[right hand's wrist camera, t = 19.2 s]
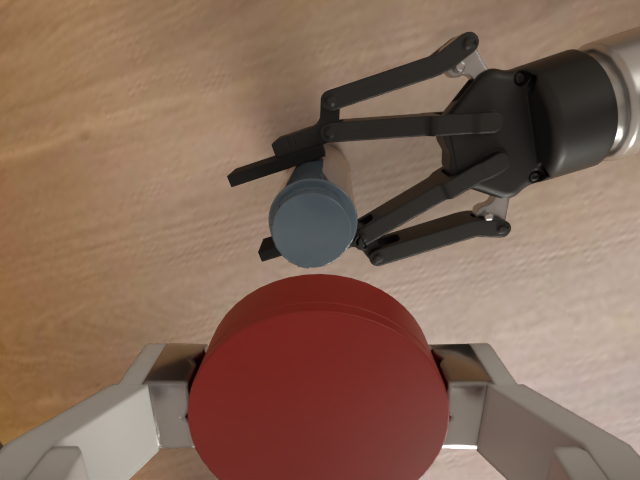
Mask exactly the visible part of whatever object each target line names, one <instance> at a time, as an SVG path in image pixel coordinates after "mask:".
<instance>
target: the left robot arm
mask: <svg viewBox="0 0 640 480" xmlns="http://www.w3.org/2000/svg"><path fill="white" fill-rule="evenodd" d="M478 44H479V39H478V36H477V35H476V34H475V33H473V32H466V33H464V34H461V35H458V36H456V37H454V38H452V39H450V40H449V41H448V42H446V43H445V44H444V45H443V46H441V47H440V48H439V49H438V50H436V51H435V52H434V53H433V54H431V55H430V56H429V57H426V58H423V59H420V60H417V61H414V62H411V63H408V64H405V65H402V66H399V67H396V68H393V69H390V70H387V71H384V72H381V73H378V74H375V75H373V76H370V77H367V78H364V79H361V80H358V81H355V82H352V83H349V84H346V85H343V86H340V87H337V88H334V89H331V90H328V91H326V92H324V94H323V95H322V97H321V111H320V119H319V121H318V122H317V123H316V124H315V125H313V126H310V127H307V128H304V129H302V130H299V131H296V132H293V133H290V134H287V135H284V136H281V137H279V138H278V139H277V140H276V141H275V142H274V143H273V144H272V147H273V150H274V153H275V156H273V157H270V158H267V159H264V160H261V161H258V162H255V163H252V164H249V165H246V166H243V167H240V168H237V169H235V170H234V171H233V172H231V173H230V174H229V175H228V176H227V177H228V180H229V182H230V185H231V187H234V186H237V185H240V184H243V183H246V182H249V181H252V180H255V179H258V178H261V177H264V176H267V175H270V174H273V173H276V172H279V171H282V170H285V169H288V168H291V167H294V166H298V165H301V164H304V163H307V162H310V161H313V160H316V159H319V158H322V157H325V148H324V145H323V144H325V143H328V142H344V141H359V140H373V139H388V138H402V137H417V136H436V138H437V141H438V143H439V145H440V146H441V148H442V165H443V167H441V168H439V169H438V170H436V171H434V172H433V173H432V174H431V175H430V176H429V177H428V178H427V179H425V180H423V181H422V182H420V183H418V184H417V185H415V186H413V187H411V188H410V189H408V190H406V191H405V192H403V193H401V194H400V195H398V196H396V197H395V198H393V199H391V200H389V201H388V202H386V203H384V204H383V205H381V206H379V207H378V208H376V209H374V210H373V211H371V212H369V213H367V214H366V215H364V216H362V217H361V218H359V219H357V220H358V223H357V230H356V234H355V237H354V239H353V241H352V243H351V244H350V246H349V247H348V248H350V247H356V248H357V249H359V250H362V251H363V252H364V253H365V254H366V256H367V257H368V258H369V260H370V262H371V263H372V264H373V265H375V266H381V265H384V264H388V263H391V262H394V261H398V260H401V259H404V258H408V257H411V256H414V255H418V254H421V253H424V252H428V251H431V250H434V249H438V248H441V247H444V246H448V245H451V244H454V243H458V242H461V241H464V240H468V239H471V238H474V237H505V236H507V235H508V234H509V233H510V230H511V226H510V224H509V223H508V222H507V221H505V218H506V213H507V208H508V203H509V198H511V197H513V196H515V195H517V194H518V193H519V192H520V191H521V190H522V189H524V188H525V187H526V186H528V185H530V184H533V183H537V182H541V181H545V180H549V179H552V178H555V177H559V176H562V175H565V174H569V173H572V172H575V171H579V170H582V169H585V168H588V167H592V166H595V165H597V164H599V163H600V162H602V161H613V160H616V159H619V158H622V157H626V156H629V155H632V154H635V153H638V152H640V26H639V27H636V28H633V29H630V30H627V31H624V32H621V33H618V34H615V35H612V36H609V37H606V38H603V39H600V40H597V41H594V42H591V43H588V44H585V45H583V46H581V47H580V48H579V49H578V50H575V49H572V50H567V51H563V52H560V53H558V54H555V55H552V56H549V57H546V58H543V59H540V60H537V61H534V62H531V63H528V64H525V65H522V66H519V67H516V68H513V69H510V70H499V69H488V68H487V67H486V65H485V63H484V61H483V60H482V58H481V56H480V54H479V53H478V51H477V47H478ZM443 73H444V74H445V75H446V76H447V77H449V78H455V77H460V76H462V75H464V76H466V77H467V78H468V79H469V80H468V81H467V83H466V84H465V85H464V86H463V88H462V89H461V90H460V92H459V93H458V94H457V95H456V97H455V98H454V99H453V100H452V102H451V103H450V104H449V105H448V107H447V108H446V109H445V110H444V112H430V113H420V114H409V115H395V116H381V117H367V118H353V119H339V112H340V108H343V107H346V106H349V105H352V104H355V103H358V102H361V101H364V100H367V99H370V98H373V97H376V96H379V95H382V94H385V93H388V92H391V91H394V90H397V89H400V88H403V87H406V86H409V85H412V84H415V83H418V82H421V81H424V80H427V79H430V78H433V77H436V76H438V75H441V74H443ZM469 189H473V190H476V191H479V192H482V193H485V194H488V195H490V196H489V198H488V199H487V200H486V201H485V202H482V203H478V204H476V205H475V206H474V207H473V210H472V211H462V212H458V213H454V214H451V215H448V216H444V217H441V218H438V219H435V220H431V221H428V222H425V223H422V224H418V225H415V226H412V227H409V228H406V229H402V230H399V231H396V232H393V233H389V232H390V231H392V230H394V229H396V228H397V227H399V226H401V225H402V224H404V223H406V222H408V221H409V220H411V219H413V218H415V217H416V216H418V215H420V214H422V213H423V212H425V211H427V210H429V209H430V208H432V207H434V206H436V205H437V204H439V203H441V202H443V201H444V200H447V199H452V198H455V197H457V196H459V195H460V194H462V193H464V192H466V191H467V190H469ZM387 233H389V234H387ZM385 234H386V235H385ZM258 253H259V255H260V258H261V260H262V261H266V260H269V259H272V258H276V257H279V256H282V255H281V253H280V252H279V251H278V249H277V248H276V247H275V244H274V241H273V239H272V236H271V237H268V238H265V239H263V241H262V244H261V246H260V249H259V251H258Z"/></svg>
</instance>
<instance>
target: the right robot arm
mask: <svg viewBox="0 0 640 480" xmlns="http://www.w3.org/2000/svg"><path fill="white" fill-rule="evenodd" d="M428 346H429V348H430V351H431V353H432V355H433V358H434V360H435V363H436V365H437V368H438V370H439V372H440V375H441V377H442V380H443V382H444V385H445V388H446V392H447V395H448V399H449V410H450V416H449V427H448V431H447V435H446V439H445V442H444V444H443V447H442V448H471V449H477V451H478V452H479V453H480V454H481V455H482V456H483V457H484V458H485V459H486V460H487V461H488V462H489V463H490V464H491V465H492V466H493V467H494V468H495V469H496V470H497V471H499V472H500V473H501V474H502V475H503V476H504V477H505V478H506V479H507V480H640V456H639V455H638V454H637V453H636V451H635V450H634V449H633V448H632V447H631V446H630V445H629V444H627V443H625V442H624V441H622V440H620V439H618V438H617V437H615V436H613V435H611V434H610V433H608V432H606V431H604V430H603V429H601V428H599V427H597V426H596V425H594V424H592V423H590V422H589V421H587V420H585V419H583V418H582V417H580V416H578V415H576V414H575V413H573V412H571V411H569V410H568V409H566V408H564V407H562V406H561V405H559V404H557V403H555V402H553V401H552V400H550V399H548V398H546V397H545V396H543V395H541V394H539V393H538V392H536V391H534V390H532V389H531V388H529V387H527V386H525V385H521V384H517V383H516V381H515V380H514V379H513V377H512V376H511V374H510V373H509V371H508V370H507V368H506V367H505V366H504V364H503V363H502V361H501V360H500V358H499V357H498V355H497V354H496V352H495V351H494V350H493V348H492V347H491V345H490V344H488V343H470V344H436V345H428ZM208 347H209V346H208V345H207V344H179V343H169V344H168V343H149V344H147V345H145V347H144V348H143V349H142V351H141V352H140V354H139V355H138V357H137V358H136V359H135V361H134V362H133V364H132V365H131V367H130V368H129V369H128V371H127V372H126V374H125V375H124V377H123V378H122V379H121V381H120V382H119V384H115V385H110V386H108V387H107V388H105V389H103V390H101V391H99V392H98V393H96V394H94V395H92V396H91V397H89V398H87V399H85V400H83V401H82V402H80V403H78V404H76V405H75V406H73V407H71V408H69V409H67V410H66V411H64V412H62V413H60V414H59V415H57V416H55V417H53V418H52V419H50V420H48V421H46V422H44V423H43V424H41V425H39V426H37V427H36V428H34V429H32V430H30V431H28V432H27V433H25V434H23V435H21V436H20V437H18V438H16V439H14V440H12V441H11V442H9V443H7V444H5V446H4V447H3V448H2V449H1V450H0V480H129V479H130V478H131V477H132V476H133V475H134V474H135V473H136V472H137V471H138V470H139V469H141V468H142V467H143V466H144V465H145V464H146V463H147V462H148V461H149V460H150V459H151V458H152V457H153V456H154V455H155V454H156V453H157V452H158V451H159V449H165V448H195V445H194V443H193V440H192V438H191V434H190V429H189V425H188V411H187V408H188V399H189V394H190V390H191V387H192V384H193V381H194V378H195V376H196V374H197V372H198V369H199V367H200V365H201V363H202V360H203V358H204V356H205V353H206V351H207V349H208Z"/></svg>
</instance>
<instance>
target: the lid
mask: <svg viewBox="0 0 640 480" xmlns="http://www.w3.org/2000/svg"><path fill="white" fill-rule="evenodd" d="M187 411H188V425H189V429H190V434H191V438H192V440H193V443H194V445H195V448H196V450H197V452H198V453H199V455H200V457H201V459H202V460H203V462H204V463H205V464H206V466H207V467H208V468H209V470H210V471H211V472H212V473H213V474H214V475H215V476H216V477H217V478H218V479H219V480H419V479H420V478H421V477H422V476H423V475H424V474H425V473H426V472H427V471H428V470H429V468H430V467H431V466H432V465H433V463H434V462H435V460H436V458H437V457H438V455H439V453H440V452H441V449H442V447H443V444H444V442H445V439H446V435H447V431H448V427H449V416H450V410H449V399H448V395H447V392H446V388H445V385H444V382H443V380H442V377H441V375H440V372H439V370H438V368H437V365H436V363H435V360H434V358H433V355H432V353H431V351H430V348H429V346H428V343H427V341H426V339H425V336H424V334H423V332H422V330H421V328H420V326H419V325H418V323H417V322H416V320H415V319H414V317H413V316H412V315H411V314H410V313H409V312H408V311H407V309H406V308H405V307H404V306H403V305H401V304H400V303H399V302H398V301H397V300H395V299H394V298H393V297H391V296H390V295H388V294H387V293H385V292H384V291H382V290H380V289H378V288H376V287H374V286H372V285H370V284H367V283H365V282H362V281H358V280H355V279H352V278H348V277H342V276H337V275H325V274H312V275H301V276H294V277H289V278H285V279H282V280H278V281H275V282H272V283H270V284H268V285H265V286H263V287H261V288H259V289H257V290H255V291H254V292H252V293H250V294H249V295H247V296H246V297H244V298H243V299H242V300H241V301H239V302H238V303H237V304H236V305H235V306H234V307H233V308H232V309H231V310H230V311H229V312H228V313H227V314H226V315H225V317H224V318H223V320H222V321H221V323H220V324H219V325H218V327H217V329H216V332H215V334H214V336H213V338H212V340H211V342H210V344H209V347H208V349H207V351H206V353H205V356H204V358H203V360H202V363H201V365H200V367H199V369H198V372H197V374H196V376H195V378H194V381H193V384H192V387H191V390H190V394H189V399H188V408H187Z"/></svg>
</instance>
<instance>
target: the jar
mask: <svg viewBox="0 0 640 480" xmlns="http://www.w3.org/2000/svg"><path fill="white" fill-rule="evenodd" d="M323 145H324V148H325V157H322V158H319V159H316V160H313V161H310V162H307V163H304V164H301V165H298V166H294V167H291V169H290V171H289V172H288V174H287V176H286V178H285V180H284V182H283V184H282V186H281V188H280V189H279V191H278V193H277V195H276V197H275V199H274V201H273V203H272V205H271V208H270V212H269V228H270V232H271V235H272V239H273V241H274V244H275V247H276V248H277V249H278V251H279V252H280V253H281V255H282V256H283V257H284V258H286V259H287V260H288V261H289V262H291V263H293V264H295V265H297V266H298V267H303V268H309V267H321V266H325V265H328V264H330V263H332V262H334V261H335V260H337V259H338V258H339V257H340V256H341V255H342V254H343V253H344V251H345V250H346V249H347V248H348V247H349V246H350V244H351V243H352V241H353V239H354V237H355V234H356V230H357V223H358V220H357V212H356V206H355V200H354V194H353V188H352V182H351V176H350V170H349V165H348V162H347V160H346V158H345V157H344V155H343V154H342V153H341V152H340V151H339V150H337V149H336V148H334V147H332V146H329V145H325V144H323Z"/></svg>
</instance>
